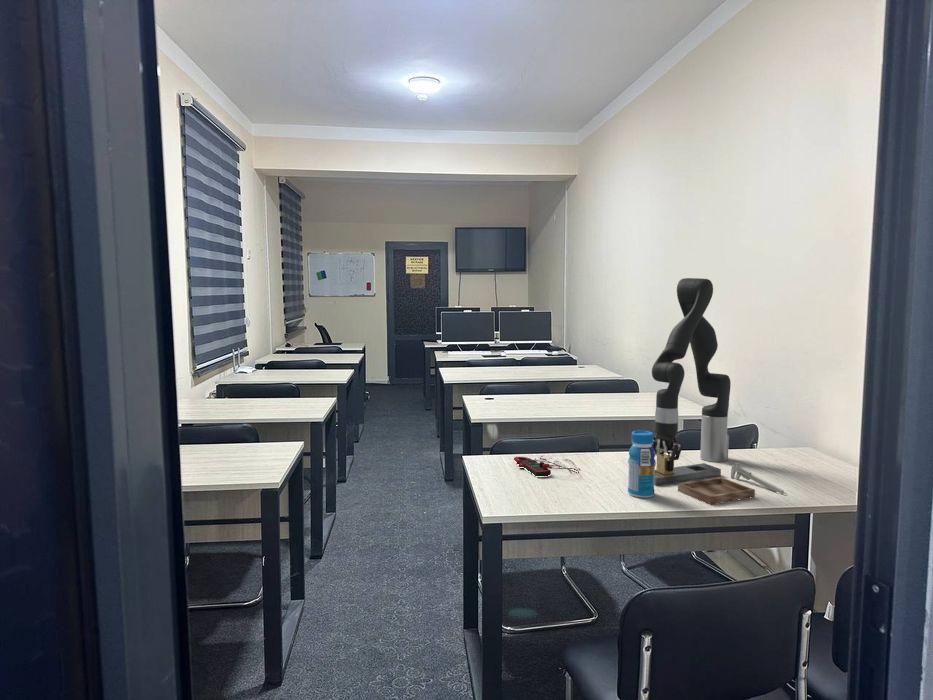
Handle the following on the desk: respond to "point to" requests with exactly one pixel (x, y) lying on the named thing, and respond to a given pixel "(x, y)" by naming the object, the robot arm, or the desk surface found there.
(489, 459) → the desk surface
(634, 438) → the beverage bottle
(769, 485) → the caliper
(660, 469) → the peg
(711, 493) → the tray
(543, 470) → the digital clamp meter
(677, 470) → the rail
